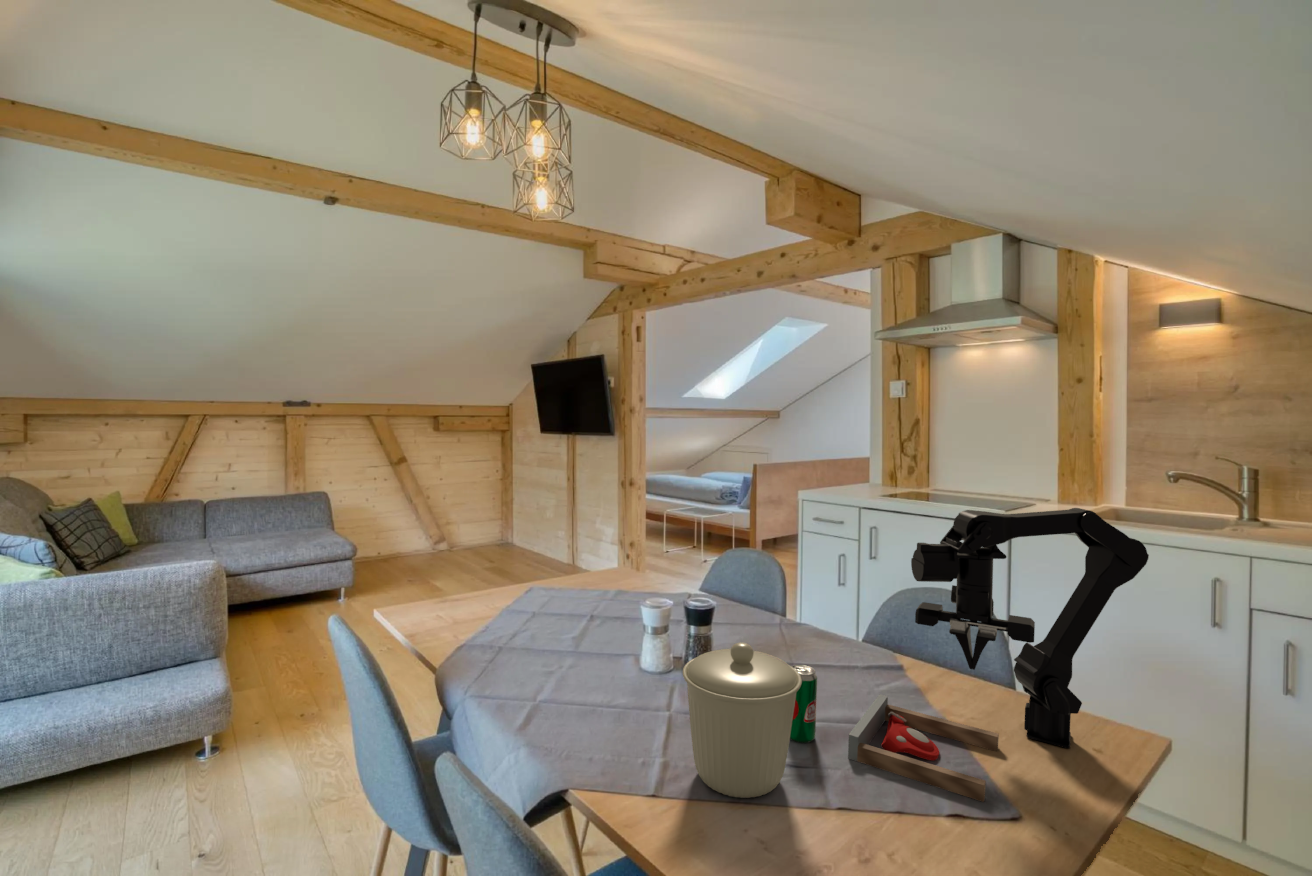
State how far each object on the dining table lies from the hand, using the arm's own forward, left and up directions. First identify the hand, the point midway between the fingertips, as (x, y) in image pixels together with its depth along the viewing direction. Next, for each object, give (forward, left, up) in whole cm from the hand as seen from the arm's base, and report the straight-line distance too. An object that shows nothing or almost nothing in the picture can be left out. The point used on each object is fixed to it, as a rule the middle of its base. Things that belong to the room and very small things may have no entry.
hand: (972, 668), depth 113 cm
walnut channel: (+5, +12, -12) cm, 18 cm away
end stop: (+15, +12, -12) cm, 22 cm away
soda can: (+24, +20, -12) cm, 33 cm away
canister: (+27, +38, -12) cm, 48 cm away
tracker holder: (+8, +11, -12) cm, 18 cm away
